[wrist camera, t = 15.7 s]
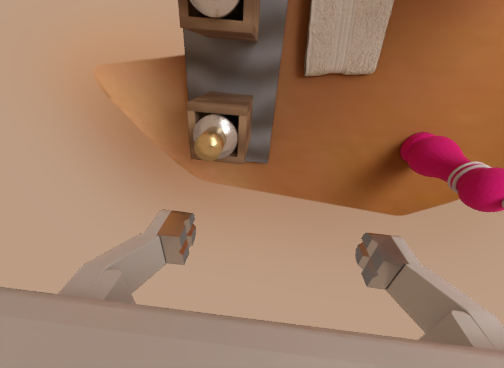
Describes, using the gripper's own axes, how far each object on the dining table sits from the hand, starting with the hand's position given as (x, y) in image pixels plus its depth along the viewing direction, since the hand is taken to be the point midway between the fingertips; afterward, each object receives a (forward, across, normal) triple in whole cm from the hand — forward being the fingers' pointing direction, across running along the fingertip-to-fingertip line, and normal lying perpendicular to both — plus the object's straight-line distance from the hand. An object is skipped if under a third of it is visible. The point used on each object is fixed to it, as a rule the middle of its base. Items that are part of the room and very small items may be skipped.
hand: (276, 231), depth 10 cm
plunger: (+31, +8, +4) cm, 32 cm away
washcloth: (+35, -10, -13) cm, 39 cm away
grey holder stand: (+34, +8, -4) cm, 35 cm away
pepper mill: (+34, -29, +7) cm, 46 cm away
